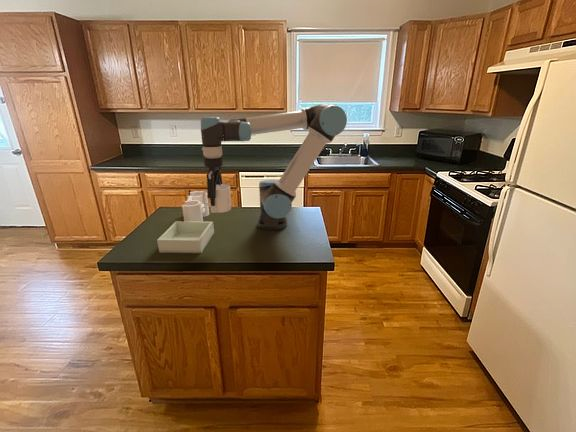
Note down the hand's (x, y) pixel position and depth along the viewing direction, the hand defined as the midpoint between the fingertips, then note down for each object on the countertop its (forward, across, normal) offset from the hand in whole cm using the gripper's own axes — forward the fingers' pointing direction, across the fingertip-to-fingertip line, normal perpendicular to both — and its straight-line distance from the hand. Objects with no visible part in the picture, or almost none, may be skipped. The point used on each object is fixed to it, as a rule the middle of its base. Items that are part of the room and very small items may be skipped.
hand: (217, 208), depth 134 cm
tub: (+16, +1, -14) cm, 21 cm away
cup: (0, 0, 0) cm, 1 cm away
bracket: (+16, -26, -18) cm, 36 cm away
